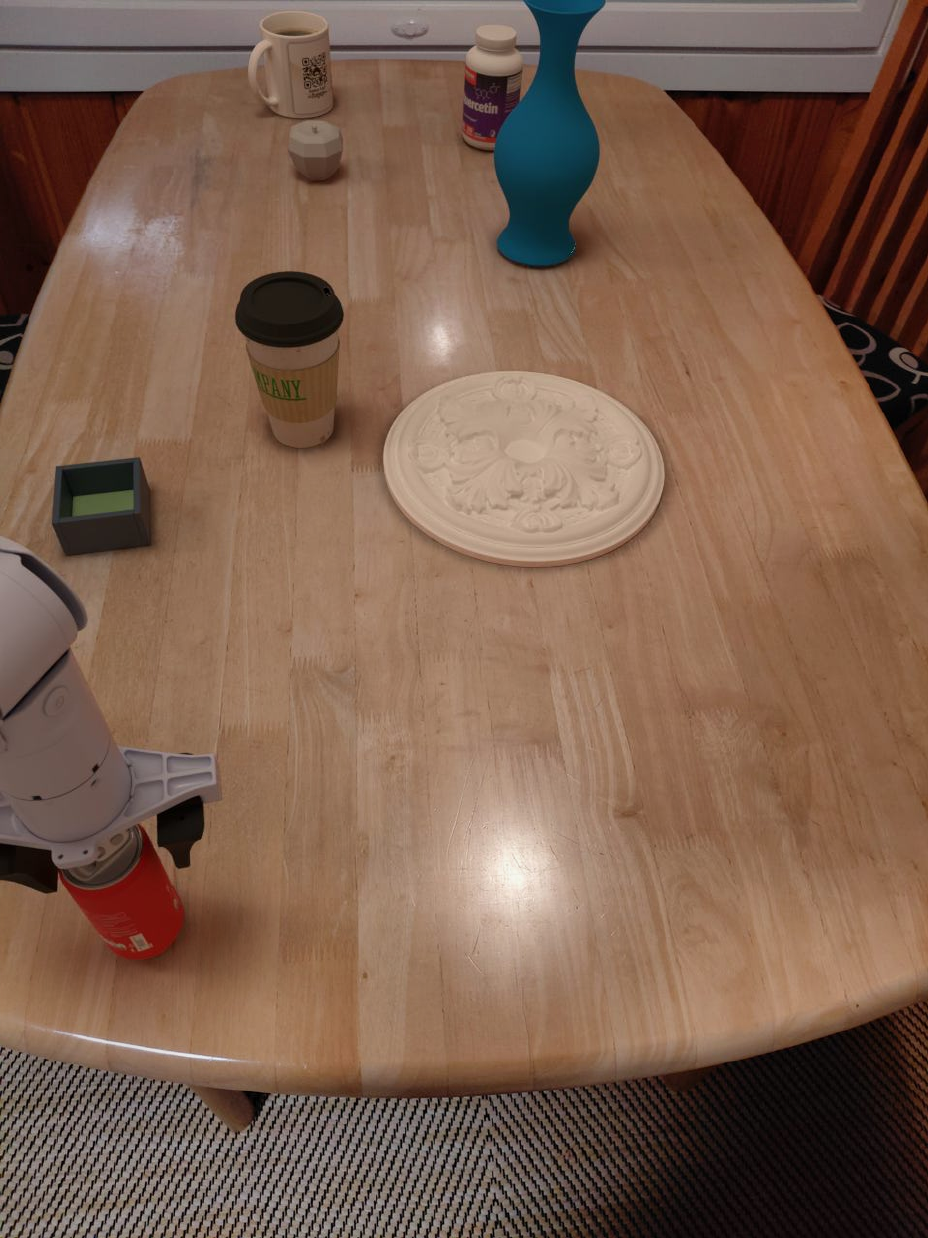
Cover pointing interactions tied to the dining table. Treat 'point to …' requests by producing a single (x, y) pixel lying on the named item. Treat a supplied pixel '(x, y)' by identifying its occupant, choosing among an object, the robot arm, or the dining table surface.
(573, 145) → the vase
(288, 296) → the coffee cup
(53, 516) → the grey square box
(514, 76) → the pill bottle
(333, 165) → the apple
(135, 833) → the beverage can
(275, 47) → the mug
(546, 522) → the ceiling medallion
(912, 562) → the dining table surface
